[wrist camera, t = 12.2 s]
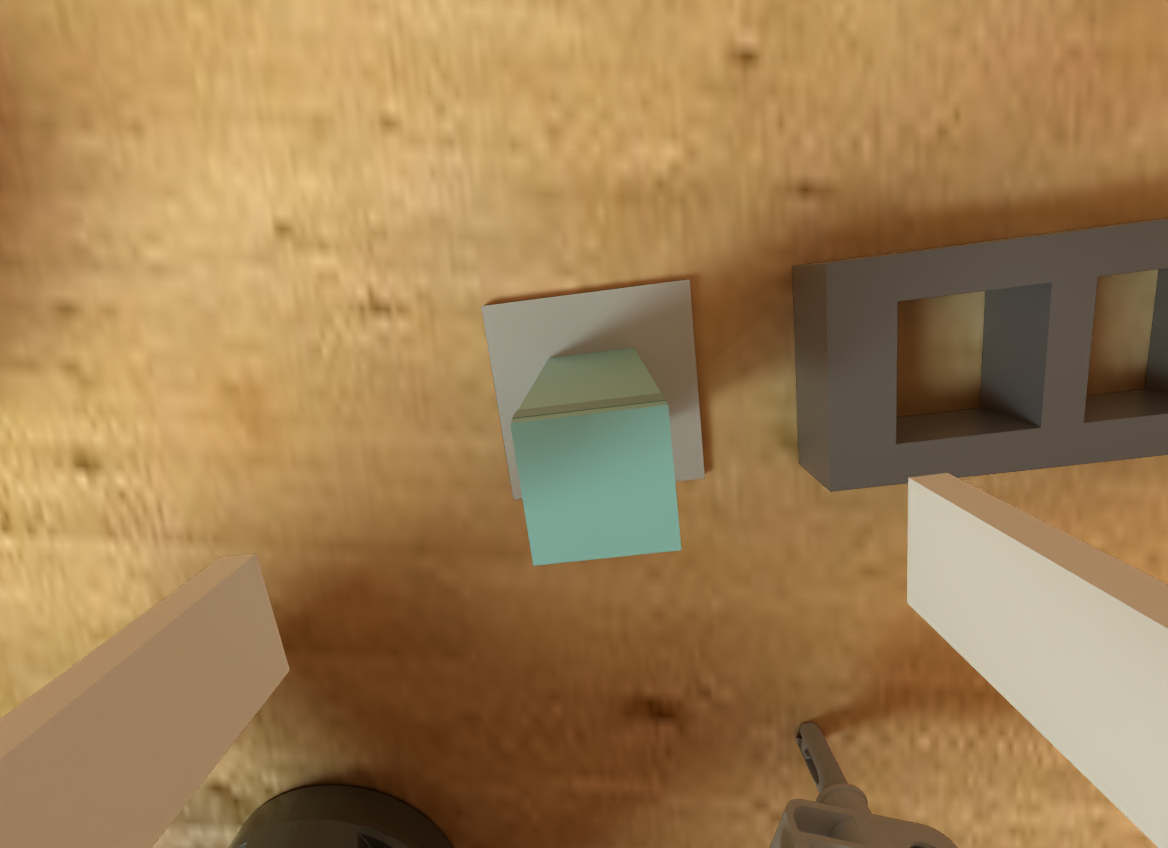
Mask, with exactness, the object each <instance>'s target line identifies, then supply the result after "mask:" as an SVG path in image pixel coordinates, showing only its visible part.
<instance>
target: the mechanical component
mask: <svg viewBox="0 0 1168 848" xmlns="http://www.w3.org/2000/svg"><path fill="white" fill-rule="evenodd" d="M800 733H801V736H802V738H803V739H799V738H795V739H796V741H797V744H798V746H799V748H800V750H801V753H802V755H803V757H804V759H805V762H806V764H807V766H808V769H809V771H810V773H811V775H812V778H813V780H814V782H815V785H816V787H817V789H818V791H819V795H818V797H817V799H816V802H812V801H807V800H802V799H794V800H791V801H790V802H789V803H788V804H787V806H786V808H785V811H784V813H783V815H782V818H781V820H780V823H779V825H778V828H777V830H776V833H775V835H774V837H773V840H772V842H771V845H770V847H769V848H958V847H957V846H956V845H955V844H954V843H953V842H952V841H951V840H950V839H949V838H947V837H946V836H945V835H944V834H942V833H941V832H939V831H937V830H936V829H934V828H932V827H929V826H926V825H923V824H918V823H913V822H908V821H903V820H899V819H894V818H889V817H884V816H879V815H875V814H871V812H870V810H869V808H868V802H867V798H866V796H865V794H864V793H863V792H862V791H861V790H860V789H859V788H858V787H856V786H854V785H851V784H848V783H847V781H846V779H845V777H844V775H843V773H842V771H841V769H840V767H839V765H838V763H837V761H836V759H835V757H834V755H833V754H832V752H831V750H830V748H829V746H828V744H827V742H826V740H825V738H824V736H823V734H822V732H821V730H820V728H819V727H818V726H817V725H816V724H814V723H809V722H808V723H803V724H801V727H800Z"/></svg>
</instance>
